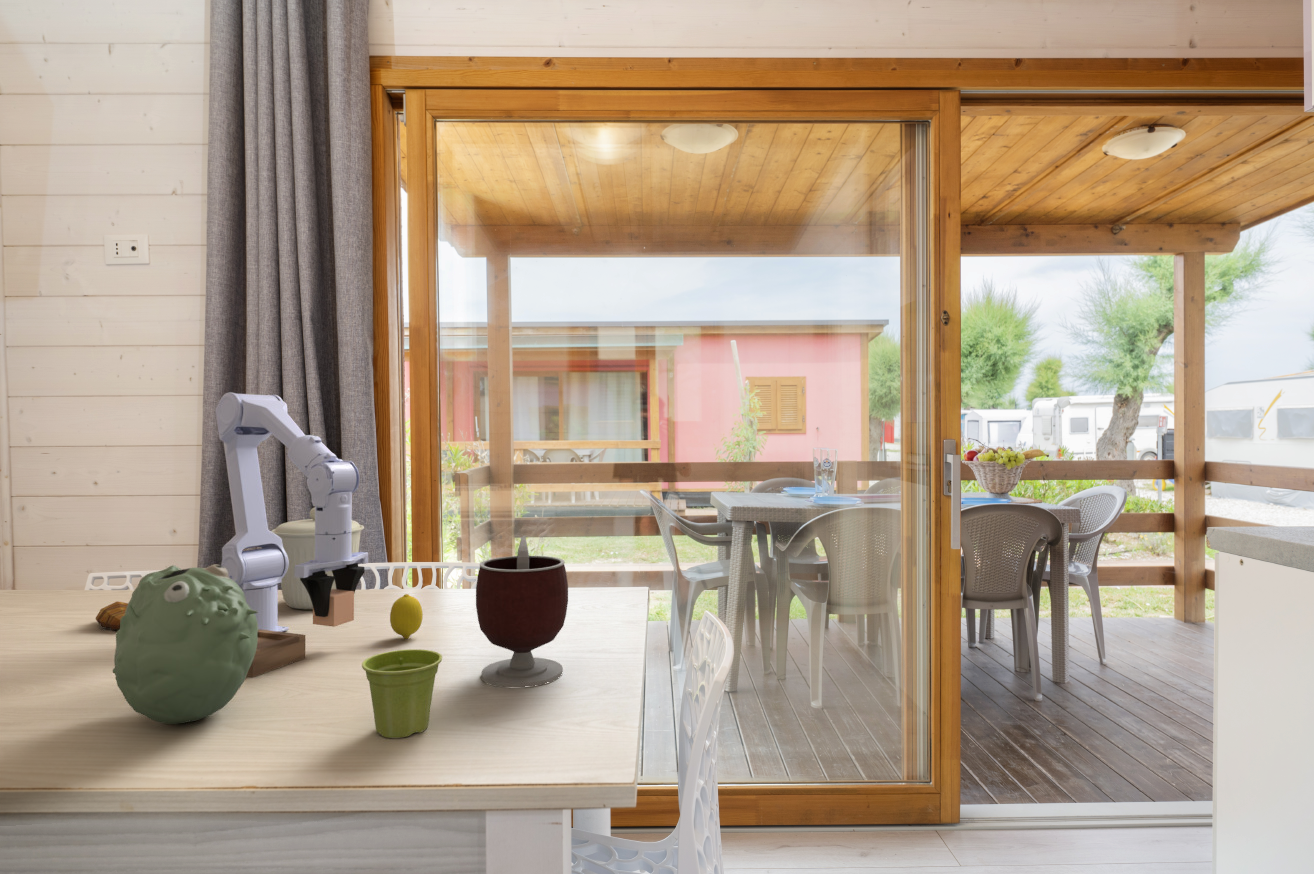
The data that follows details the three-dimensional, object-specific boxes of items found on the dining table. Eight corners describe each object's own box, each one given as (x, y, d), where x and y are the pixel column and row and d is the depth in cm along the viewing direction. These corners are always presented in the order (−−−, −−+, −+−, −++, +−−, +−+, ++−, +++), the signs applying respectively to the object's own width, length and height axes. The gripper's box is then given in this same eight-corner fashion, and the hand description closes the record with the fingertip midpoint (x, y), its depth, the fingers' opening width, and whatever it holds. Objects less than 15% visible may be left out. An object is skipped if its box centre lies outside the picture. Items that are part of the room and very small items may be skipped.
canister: (341, 615, 147) (341, 511, 147) (253, 614, 147) (253, 511, 147) (377, 595, 165) (377, 502, 165) (298, 594, 165) (298, 502, 165)
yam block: (312, 623, 122) (313, 594, 122) (333, 617, 126) (333, 588, 126) (334, 626, 120) (334, 596, 120) (353, 620, 124) (354, 591, 124)
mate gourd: (569, 686, 105) (570, 549, 105) (471, 692, 103) (471, 551, 103) (565, 654, 120) (565, 534, 120) (480, 659, 118) (480, 536, 118)
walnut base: (204, 669, 113) (204, 645, 113) (259, 651, 122) (259, 629, 122) (252, 677, 109) (252, 652, 109) (305, 657, 119) (305, 634, 119)
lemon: (412, 643, 127) (412, 598, 127) (383, 641, 128) (383, 596, 128) (428, 635, 132) (428, 591, 132) (400, 633, 133) (400, 590, 133)
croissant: (152, 629, 137) (152, 602, 137) (108, 637, 131) (108, 609, 131) (125, 618, 145) (125, 593, 145) (83, 625, 139) (83, 599, 139)
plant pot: (375, 715, 94) (375, 649, 94) (448, 713, 95) (448, 647, 95) (350, 746, 85) (350, 672, 85) (432, 743, 86) (432, 670, 86)
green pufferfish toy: (206, 688, 104) (206, 549, 104) (290, 712, 95) (290, 560, 95) (78, 726, 91) (78, 567, 91) (162, 759, 82) (161, 582, 82)
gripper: (318, 539, 115) (318, 625, 115) (382, 528, 128) (381, 604, 128) (284, 537, 117) (284, 621, 117) (350, 526, 131) (350, 601, 131)
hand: (333, 612), depth 123 cm, fingers closed on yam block, 4 cm apart
